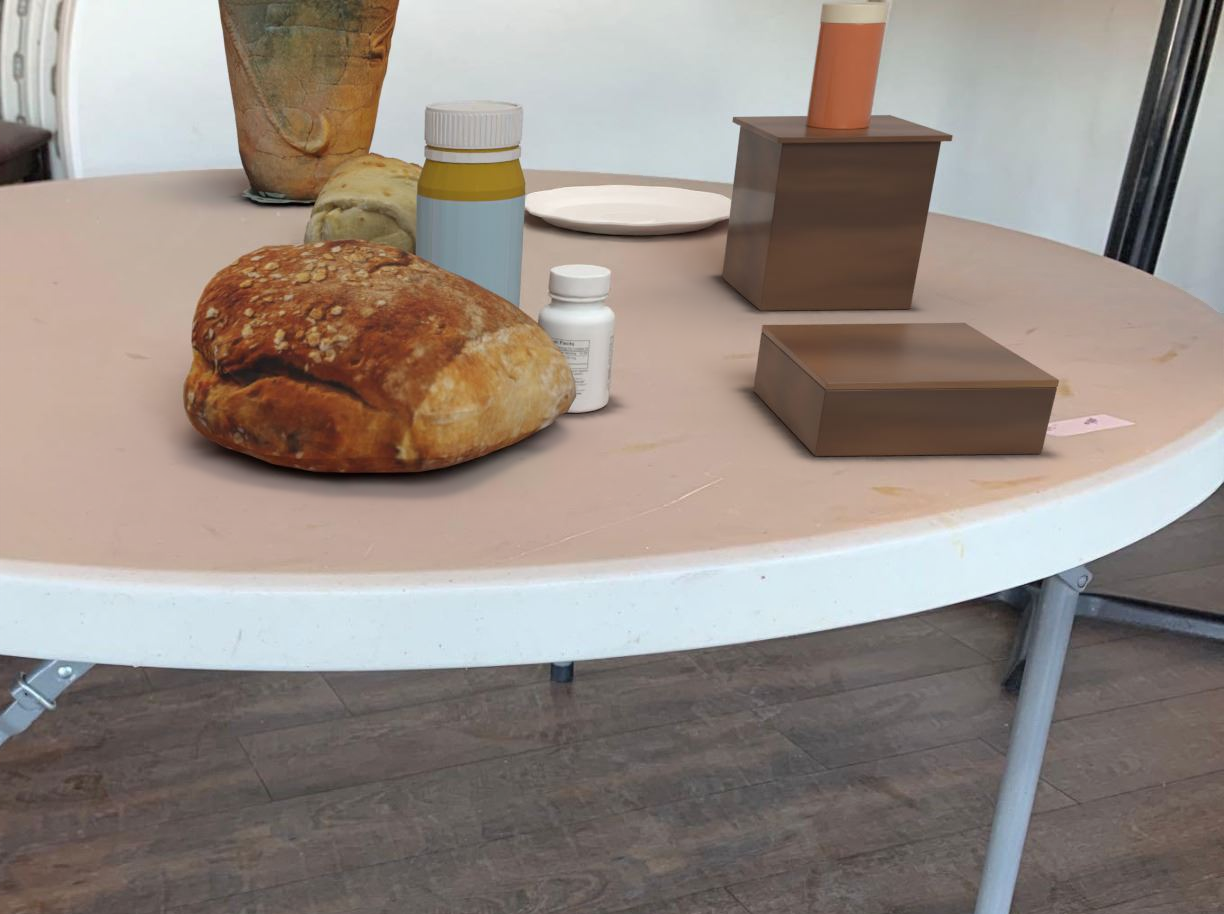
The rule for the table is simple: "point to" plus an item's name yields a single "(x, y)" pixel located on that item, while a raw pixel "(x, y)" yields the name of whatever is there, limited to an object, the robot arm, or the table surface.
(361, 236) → the pastry
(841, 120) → the spice jar
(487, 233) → the bottle
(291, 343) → the bread
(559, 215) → the plate
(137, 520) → the table surface
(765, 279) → the wooden cabinet block
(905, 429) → the wooden lidded box
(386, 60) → the vase
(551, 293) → the pill bottle
